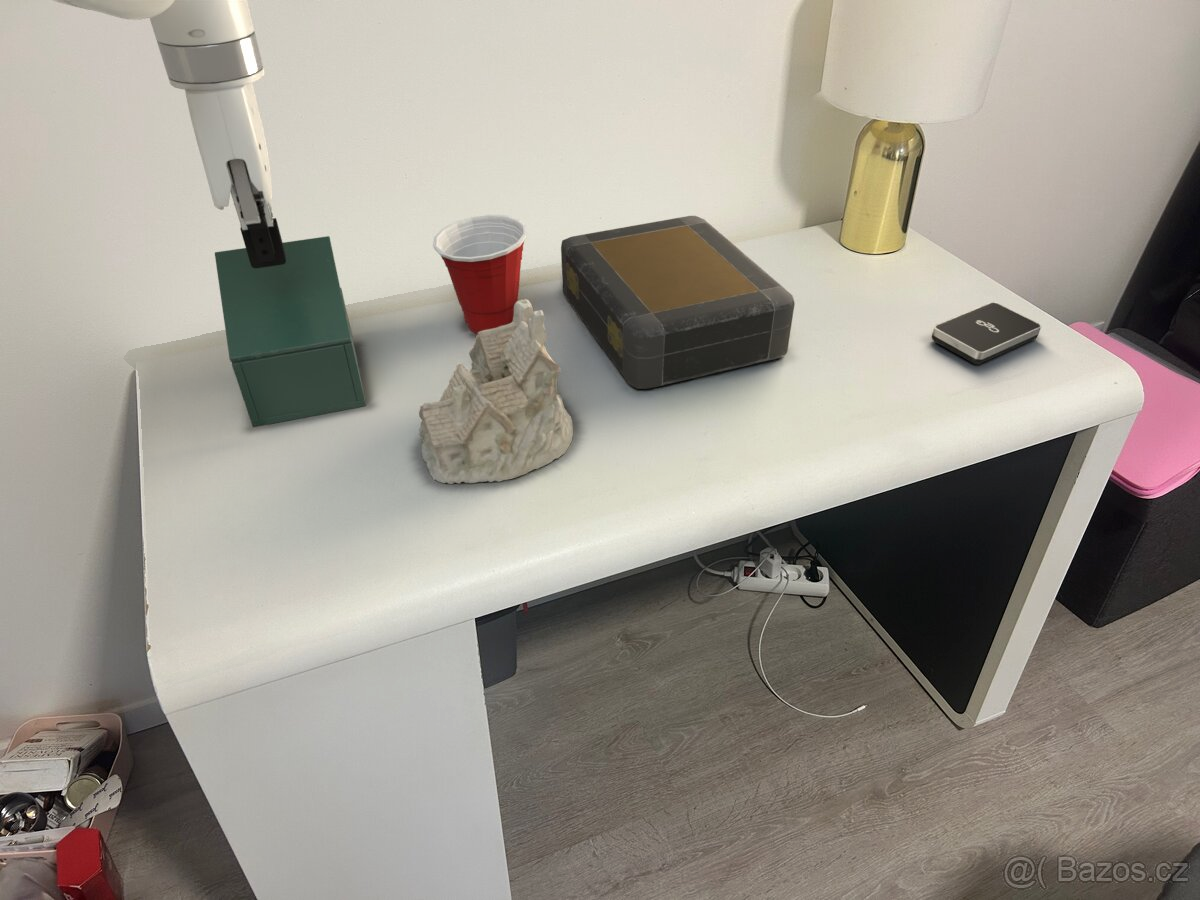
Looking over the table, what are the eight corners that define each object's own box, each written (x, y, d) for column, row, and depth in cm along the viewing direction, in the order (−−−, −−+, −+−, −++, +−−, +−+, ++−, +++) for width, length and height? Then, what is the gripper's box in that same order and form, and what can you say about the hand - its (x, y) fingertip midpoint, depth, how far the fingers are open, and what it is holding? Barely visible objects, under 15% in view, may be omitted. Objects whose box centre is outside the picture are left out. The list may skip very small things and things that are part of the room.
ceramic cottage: (552, 373, 95) (537, 253, 85) (589, 469, 83) (576, 343, 73) (413, 402, 92) (381, 282, 82) (430, 505, 80) (395, 380, 70)
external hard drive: (1038, 340, 99) (1043, 325, 98) (975, 369, 95) (980, 354, 94) (989, 315, 104) (993, 301, 103) (926, 341, 99) (930, 326, 98)
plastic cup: (438, 309, 106) (424, 219, 99) (522, 296, 109) (515, 207, 101) (453, 354, 98) (439, 260, 91) (543, 338, 101) (537, 245, 93)
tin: (251, 364, 97) (232, 304, 92) (354, 346, 100) (341, 287, 95) (253, 427, 88) (231, 364, 83) (366, 405, 91) (352, 343, 86)
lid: (216, 256, 88) (214, 252, 87) (330, 239, 91) (329, 235, 90) (231, 362, 83) (229, 359, 82) (351, 342, 86) (350, 338, 85)
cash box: (797, 357, 97) (806, 297, 92) (634, 395, 92) (635, 334, 87) (699, 264, 115) (703, 210, 110) (558, 291, 110) (556, 236, 105)
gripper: (169, 41, 74) (229, 236, 86) (157, 89, 63) (227, 305, 75) (259, 34, 76) (305, 226, 88) (262, 79, 65) (314, 292, 77)
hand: (269, 262), depth 81 cm, fingers closed
